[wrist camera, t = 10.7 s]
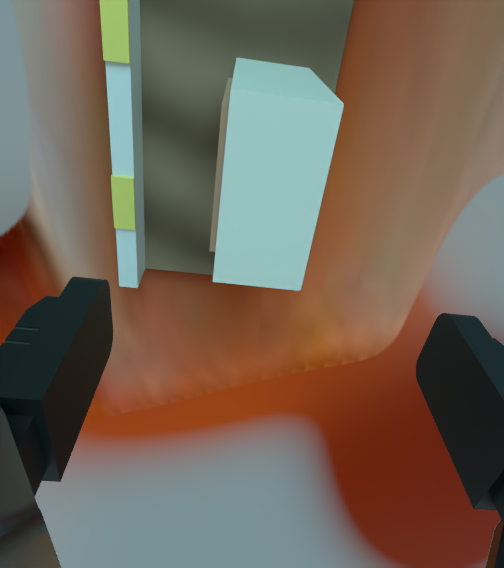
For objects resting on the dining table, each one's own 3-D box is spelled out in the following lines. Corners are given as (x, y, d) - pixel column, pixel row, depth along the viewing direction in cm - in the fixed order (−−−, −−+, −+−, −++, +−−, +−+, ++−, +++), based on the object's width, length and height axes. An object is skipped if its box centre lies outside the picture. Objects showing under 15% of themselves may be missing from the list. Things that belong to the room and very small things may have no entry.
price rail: (110, -110, 19) (91, -126, 17) (138, -106, 19) (123, -120, 17) (127, 266, 30) (118, 288, 28) (145, 268, 30) (137, 290, 28)
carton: (309, 68, 23) (344, 104, 15) (284, 204, 28) (300, 290, 19) (230, 56, 23) (221, 87, 14) (218, 196, 27) (206, 281, 19)
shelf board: (117, -104, 20) (110, -110, 19) (362, -65, 21) (368, -68, 20) (131, 258, 31) (128, 266, 30) (293, 274, 32) (294, 282, 31)
